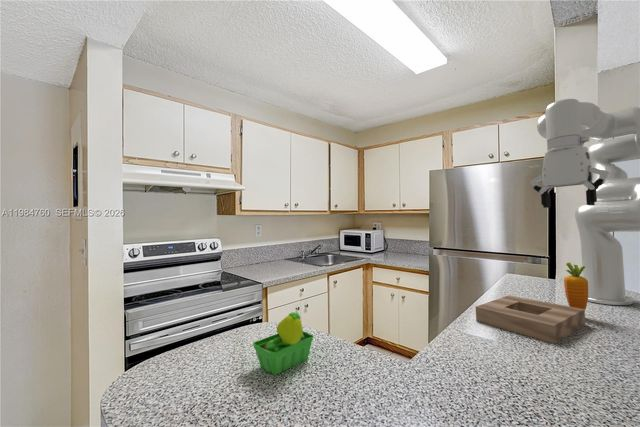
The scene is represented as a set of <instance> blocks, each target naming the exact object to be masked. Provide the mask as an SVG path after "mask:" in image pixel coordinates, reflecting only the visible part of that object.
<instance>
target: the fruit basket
mask: <svg viewBox="0 0 640 427" xmlns="http://www.w3.org/2000/svg"><path fill="white" fill-rule="evenodd" d="M276 326H277V327H276V332H277V333H275V334H273V335H270V336H268V337H264V338H262V339H259V340H256V341H253V343H252V345H253V349H254V350H255V352H256V356H257V358H258V363H259V366H260V368H262V369H264V370H265V371H266V372H268V373H271V374H272V375H273V376H276V375H278V374H280V373H281V372H283V371H286V370H288V369H290V368H292V367H294V366H297V365H299V364H300V363H302V362H305V361H307V360H308V359H309V354H310V351H311V346H312V342H313V340H314V335H313V334H310V333H308V332H307V331H304V329H303V328H304V327H303V324H302V320H301V315H300V313H298V312H295V311H292V312H290V313H288V315H287V316H285V317H284V318H283V319H282V320H281V321H279V323H278V324H277V325H276Z"/></svg>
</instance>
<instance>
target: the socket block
mask: <svg viewBox="0 0 640 427" xmlns="http://www.w3.org/2000/svg"><path fill="white" fill-rule="evenodd" d="M474 308H475V321H476V322H479V323H482V324H484V325H489V326H491V327H492V326H493V327H495V328H500V329H502V330H506V331H510V332H514V333H515V334H517V333H518V334H521V335H522V336H523V335H524V336H527V337H531V338H534V339H537V340H542V341H545V342H549V343H551V344H557V343H559V342H560V341H562V340H565V338H567V337H569V336H570V335H572V334H573V333H575V332H577V331H578V330H580V329H581V328H584V327H585V326H586V309H580V308H574V307H570V306H569V305H568V306H567V305H563V304H558V303H552V302H548V301H547V302H546V301H542V300H536V299H530V298H526V297H520V296H514V295H510V294H508V295H505V296H503V297H500V298H497V299H494V300H491V301H488V302H485V303H482V304H479V305H477V306H476V305H475V307H474Z"/></svg>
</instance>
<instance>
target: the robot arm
mask: <svg viewBox="0 0 640 427" xmlns="http://www.w3.org/2000/svg"><path fill="white" fill-rule="evenodd" d="M544 113H545V114H543V115H541V116H540V118H538V120H537V124H536V129H537V132H538V134H539V135H540V136H541V137H542V138H544V139H546V145H547V146H546V147H547V148H546V149H547V151H546V152H545V153H544V156H543V163H542V173H541V174H539V175H537V176H536V177H535V178H533V179H531V180H530V181H529V184H530V185H531V186H532V188H533V190H535V191H536V192H538V194H540V200H541V201H540V203H541V205H542V207H543V208H546V209H550V208H551V207H552V205H551V204H552V203H551V194H550V191H551V190H553V188H563V187H572V186H582V185H583V186H584V187H585V188H586V190H585V195H586V197H585V198H586V203H583V204H581V205H579V206H578V207H577V208H576V209H575V212H574V218H575V222H576V226H577V229H578V230H577V231H578V232H579V233H578V234H579V239H580V250H581V251H580V253H581V264H582V265H581V266H585V268H584V269H583V271H582V277H584V278H586V279H587V281H588V301H587V302H590V303H596V304H601V305H609V306H630V305H633V304H634V299H633V297H632V298H631V297H630V296H627V295H626V285H625V284H626V282H625V268H624V255H623V254H624V253H623V247H622V246H623V245H622V244H621V242H620V241H619V240H618V239H617V238H616V237H615V236H613V235H612V234H611V232H612V233H614V232H615V233H616V232H631V233H632V232H634V233H635V232H636V233H637V232H640V176H637V177H628V174H627V172H626V171H625V170H624V169H622V168H621V167H619V166H617V165H615V164H613V163H620V162H628V161H634V160H635V161H636V160H640V107H639V106H638V107H637V106H632V107H628V108H624V109H619V110H615V111H612V112H607V113H606V112H604V111H602V110H601V108H600V107H599V106H598V105H597V104H595V103H593V102H589V101H587V102H586V101H583V102H582V101H579V100H578V99H576V98H564V99H560V100H557V101H554V102H552V103H550V104H548V105H547V107H546V108H545V112H544ZM590 140H593V141H597V142H594V143H592V144H591V145H589V146H588V147H587V146H584V144H586V143H587V142H590ZM541 181H542V185H543V186H540V185H539V182H541Z"/></svg>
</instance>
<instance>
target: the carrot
mask: <svg viewBox="0 0 640 427" xmlns="http://www.w3.org/2000/svg"><path fill="white" fill-rule="evenodd" d="M571 263H572V262H566V266H567V267H568V269H566V270H565V271H566V272H568V273H569V275H567V276H565V277H564V278H563V285H564V286H563V287H564V291H565V292H564V293H565V296H566V301H567V303H568V306H569V307H574V308H580V309H585V310H586V309H587V304H588V302H589V301H588V281H587V279H586V278H584V277H583V275H582V276H581V274H582V273H583V269H584V268H585V266H582V265H581V266H580V268H579V266H578V265H577V264H573V265H572V264H571Z"/></svg>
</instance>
